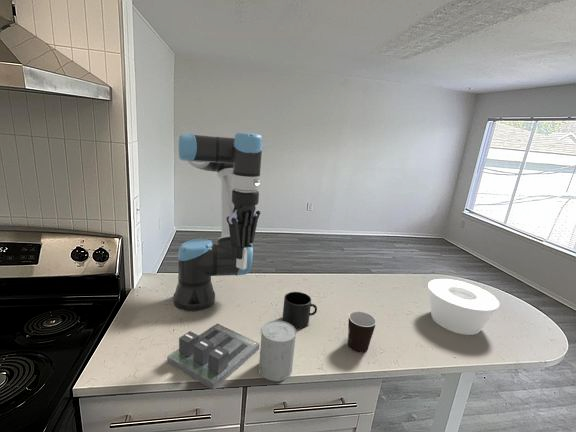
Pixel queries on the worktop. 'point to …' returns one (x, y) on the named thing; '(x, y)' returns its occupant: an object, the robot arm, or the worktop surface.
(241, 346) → the panel
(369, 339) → the dark brown tapered cylinder
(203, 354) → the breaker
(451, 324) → the bowl
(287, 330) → the grey stone cylinder
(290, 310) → the mug
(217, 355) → the breaker
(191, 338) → the block
